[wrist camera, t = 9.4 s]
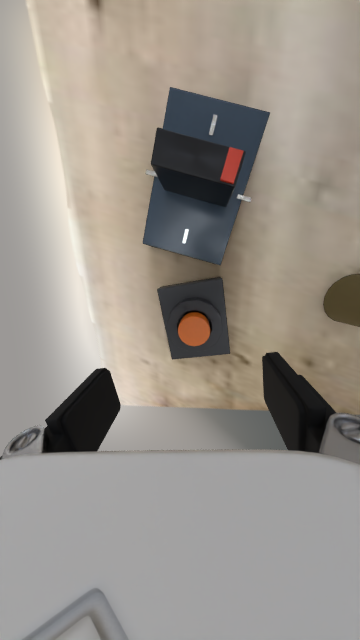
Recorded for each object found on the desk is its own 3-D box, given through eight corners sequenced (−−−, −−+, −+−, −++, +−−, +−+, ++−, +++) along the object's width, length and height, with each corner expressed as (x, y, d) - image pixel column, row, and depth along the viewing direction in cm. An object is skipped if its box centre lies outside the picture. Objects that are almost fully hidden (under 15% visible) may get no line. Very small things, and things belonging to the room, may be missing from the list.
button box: (160, 286, 24) (153, 291, 20) (220, 276, 23) (224, 279, 19) (174, 352, 27) (169, 366, 23) (227, 346, 26) (232, 361, 22)
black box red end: (163, 190, 18) (149, 162, 13) (169, 163, 17) (155, 123, 12) (226, 207, 18) (235, 186, 13) (234, 181, 17) (247, 148, 12)
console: (166, 111, 18) (160, 82, 15) (267, 137, 18) (280, 113, 15) (143, 244, 22) (134, 241, 20) (224, 266, 22) (228, 267, 19)
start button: (177, 314, 21) (175, 318, 19) (207, 310, 21) (208, 314, 19) (182, 341, 22) (180, 347, 20) (211, 338, 22) (212, 344, 20)
